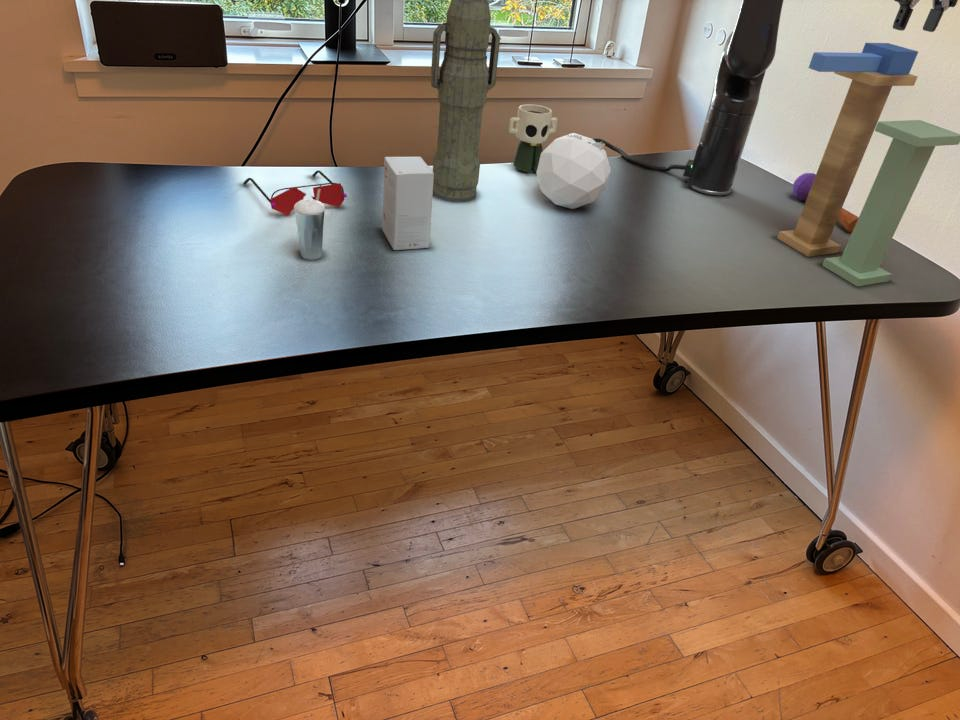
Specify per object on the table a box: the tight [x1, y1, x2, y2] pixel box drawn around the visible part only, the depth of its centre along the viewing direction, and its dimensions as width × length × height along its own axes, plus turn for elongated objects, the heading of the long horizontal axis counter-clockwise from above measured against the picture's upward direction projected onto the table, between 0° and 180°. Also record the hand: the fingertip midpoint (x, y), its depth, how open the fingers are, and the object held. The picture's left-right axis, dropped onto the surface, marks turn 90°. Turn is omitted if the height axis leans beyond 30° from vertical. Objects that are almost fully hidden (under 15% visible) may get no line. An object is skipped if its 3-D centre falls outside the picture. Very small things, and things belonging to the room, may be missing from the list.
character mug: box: [508, 103, 558, 173], centre depth 151 cm, size 11×7×13 cm, turn 109°
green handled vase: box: [430, 0, 501, 203], centre depth 130 cm, size 9×12×35 cm
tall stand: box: [776, 72, 918, 258], centre depth 126 cm, size 10×8×32 cm
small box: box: [381, 156, 434, 251], centre depth 117 cm, size 8×6×13 cm
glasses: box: [242, 170, 348, 216], centre depth 129 cm, size 14×16×5 cm
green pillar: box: [822, 119, 960, 288], centre depth 120 cm, size 10×8×26 cm
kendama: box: [792, 172, 859, 234], centre depth 150 cm, size 6×6×20 cm
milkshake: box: [293, 189, 326, 261], centre depth 110 cm, size 4×5×10 cm
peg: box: [808, 42, 919, 75], centre depth 114 cm, size 18×6×4 cm, turn 114°
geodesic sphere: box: [535, 132, 612, 210], centre depth 137 cm, size 15×14×14 cm
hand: (913, 30), depth 133 cm, fingers open, 8 cm apart
